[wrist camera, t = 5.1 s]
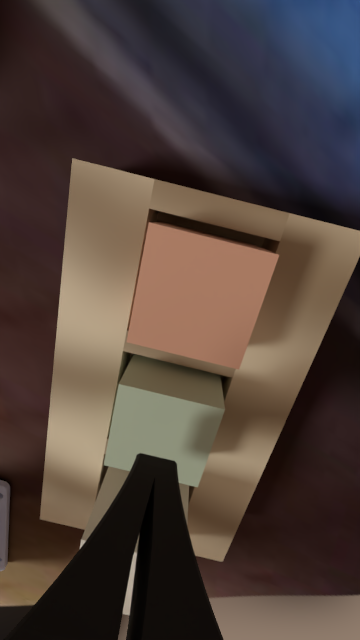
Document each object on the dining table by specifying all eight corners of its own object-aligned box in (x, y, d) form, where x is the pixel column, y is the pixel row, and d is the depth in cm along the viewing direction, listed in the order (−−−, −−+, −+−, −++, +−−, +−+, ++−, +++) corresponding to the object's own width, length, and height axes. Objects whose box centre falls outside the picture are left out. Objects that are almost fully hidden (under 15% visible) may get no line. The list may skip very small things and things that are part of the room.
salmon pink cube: (228, 329, 14) (239, 369, 10) (146, 309, 14) (126, 342, 10) (255, 245, 13) (279, 254, 9) (164, 222, 12) (148, 222, 9)
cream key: (172, 529, 16) (163, 622, 12) (100, 512, 16) (70, 601, 12) (189, 476, 15) (185, 563, 11) (111, 458, 15) (81, 539, 11)
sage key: (198, 424, 16) (197, 487, 12) (126, 407, 16) (103, 465, 12) (218, 360, 15) (224, 409, 11) (139, 341, 14) (118, 384, 11)
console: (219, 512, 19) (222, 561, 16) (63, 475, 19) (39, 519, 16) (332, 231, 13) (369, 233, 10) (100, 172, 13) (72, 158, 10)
